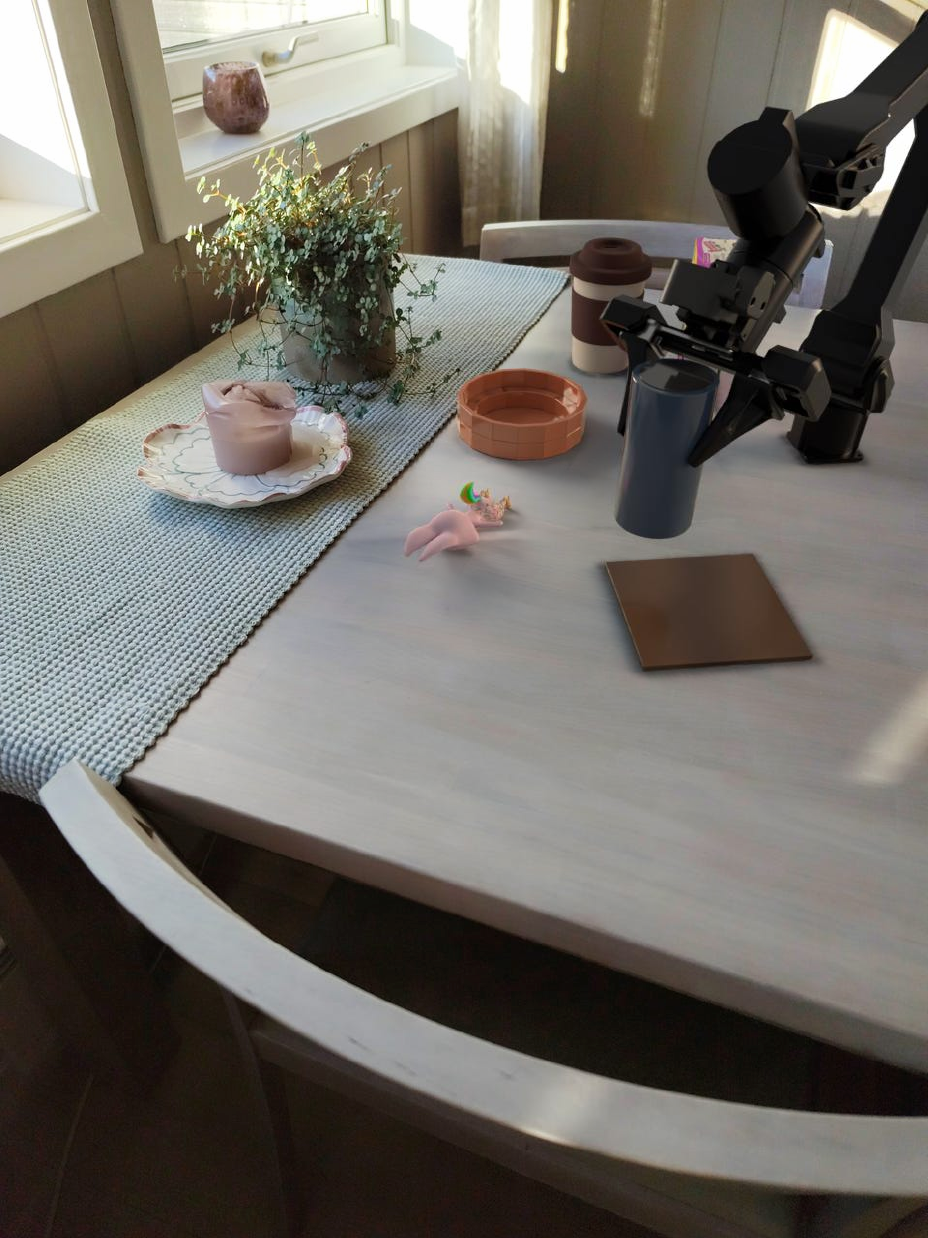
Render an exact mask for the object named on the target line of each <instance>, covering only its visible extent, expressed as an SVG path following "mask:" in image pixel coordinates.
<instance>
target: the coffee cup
mask: <svg viewBox="0 0 928 1238" xmlns="http://www.w3.org/2000/svg"><path fill="white" fill-rule="evenodd" d="M653 265H654V261H653V258H652V257H650V256H649V255H648V254H646V253H644V252H643V247H642V246H641V245H640V244H639V243H638V242H636V241H634V240H632V239H628V238H622V237H615V236H614V237H613V236H606V237H605V236H604V237H597V238H592V239H589V240H587V241H586V242H585V243H584V245H583V247H582V248H581V249H579V250H577V251H575V252H573V254H572V255H571V256H570V258H569V267H568V268H569V273H570V274H571V275H572V277H573V285H572V287H571V316H570V317H571V320H570V321H571V322H570V323H571V325H570V332H571V335H572V354H571V355H572V357H571V358H572V359H571V360H572V363H573V366H575V367H576V368H578V369H580V370H582V371H585V372H588V373H593V374H600V375H603V374H605V375H606V374H616V373H619V372H621V371H624V370H625V369H627V368H628V353H626V352H625V351H623V350H622V349H620V348H619V346H618V345H617V344H616V342H615V341H614V340H613V338H612V337H611V336H610V334H609V333H608V332H607V330H606V329H605V327H604V326H603V325H602V323H601V322H600V321H599V318H600V316H601V315H602V313H603V311H604V310H605V308H606V306H607V304H608V303H609V302H610V301H611V300H612V299H613V298H615V297H617V296H619V295H622V294H624V295H627V296H630V297H633V298H636V299H639V300H642V301H644V298H645V291H646V290H645V284H646V281H647V280H648V279H650V278H651V276H652V273H653Z"/></svg>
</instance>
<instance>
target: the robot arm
mask: <svg viewBox="0 0 928 1238" xmlns="http://www.w3.org/2000/svg"><path fill="white" fill-rule="evenodd" d="M912 121H913V130H914V131H913V132H914V138H913V140H912V143H911V146H910V147H909V150H908V152H907V154H906V157H905V159H904V162H903V164H902V166H901V168H900V170H899V173H898V175H897V177H896V179H895V182H894V184H893V186H892V188H891V191H890V193H889V196H888V197H887V200H886V202H885V205H884V207H883V209H882V212H881V213H880V216H879V218H878V220H877V222H876V225H875V227H874V229H873V231H872V234H871V237H870V238H869V241H868V244H867V245H866V247H865V250H864V252H863V255H862V257H861V259H860V261H859V264H858V266H857V267H856V268H857V269H856V271H855V273H854V275H853V277H852V279H851V281H850V285H849V287H848V289H847V291H846V293H845V295H844V297H843V298H841V299H840V300H839V301H838V302H837V303H835V304H834V305H833V306H831V307H830V308H829V309H825V308H823V309H821V311H819V312H818V313H817V314H816V316H815V317H814V319H813V323H812V325H811V327H810V331H809V332H808V335H807V336H806V337H805V339H804V340H803V341H802V343H801V344H800V346H799V348H798V350H797V349H793V348H790V347H787V346H784V345H781V344H776V345H774V346H773V347H770V348H769V349H768V350H767V351H766V353H765V355H764V356H762V355H759V354H758V353H757V350H758V349H759V347H760V345H761V344H762V342H763V340H764V339H765V337H766V335H767V334H768V332H769V330H770V329H771V327H772V325H773V324H774V323H775V324H778V325H781V324H782V322H783V320H784V318H786V315H787V313H788V312H787V309H786V307H785V303H786V302H787V300H788V298H789V297H790V295H791V293H792V292H793V290H794V288H795V287H796V285H797V284H798V283H799V280H800V278H801V277H802V275H803V273H804V271H805V270H806V268H807V267H808V265H809V263H810V262H811V260H812V258H815V259H822V258H823V257H824V255H825V250H826V247H827V244H826V243H827V242H826V239H825V236H826V230H825V229H826V228H825V221H824V220H823V219H822V216H821V213H820V212H819V210H818V209H817V208H816V207H815V206H814V205H817V206H821V207H827V208H831V209H835V210H840V211H846V212H848V211H851V210H853V209H854V208H855V207H857V206H859V204H860V203H861V202H862V201H863V200H864V199H865V198H866V197H868V196H869V195H870V194H871V193H873V191H874V189H875V187H876V185H877V183H878V182H879V181H880V180H881V179H882V177H883V175H884V171H885V163H886V155H887V147H888V146H889V145H890V144H891V142H892V141H893V140H894V139H895V138H896V137H897V136H898V135H899V134H900V133H901V131H903V129H905V128H906V127H907V126H908V124H910V122H912ZM705 168H706V177H707V179H708V182H709V184H710V186H711V189H712V191H713V193H714V195H715V198H716V200H717V202H718V205H719V207H720V210H721V212H722V215H723V216H724V219H725V221H726V224H727V227H728V228H729V230H730V232H732V233H733V235H734V236H735V237H737V239H736V240H737V241H736V243H735V244H734V246H733V248H732V250H731V251H730V253H729V255H728V256H727V258H726V260H725V261H723V260H719V259H716V260H715V261H714V262H712V263H711V265H710V266H709V268H708V267H704V266H700V265H697V264H693V263H692V262H689V261H686V260H682V259H679V258H675V259H674V260H673V263H672V266H671V268H670V271H669V274H668V276H667V279H666V281H665V284H664V287H663V289H662V292H661V295H660V298H659V301H658V303H659V304H662V305H666V306H669V307H672V306H675V307H677V309H676V311H675V313H674V314H675V316H676V318H677V319H678V321H679V322H681V323H683V322H684V323H685V325H686V327H685V329H684V330H682V328H678V327H675V326H674V325H670V324H669V323H668V322H667V321H666V319H665V317H664V316H663V314H662V312H661V311H660V309H659V308H658V306H657V304H654V303H651V302H648V301H645V300H643V301H642V300H639V299H636V298H633V297H630V296H627V295H624V294H622V295H619V296H617V297H615V298H613V299H612V300H611V301H610V302H609V303H608V304H607V306H606V308H605V310H604V311H603V313H602V315H601V316H600V318H599V321H600V322H601V323H602V325H603V326H604V327H605V329H606V330H607V332H608V333H609V334H610V336H611V337H612V338H613V340H614V341H615V342H616V344H617V345H618V346H619V348H620V349H622V350H623V351H625V352H626V353H628V366H627V376H626V383H625V387H624V392H623V393H624V394H623V398H622V403H621V409H620V413H619V418H618V423H617V427H616V433H617V434H618V435H619V436H620V437H622V438H624V432H625V424H626V416H627V409H628V401H629V394H630V386H631V378H632V372H633V370H634V368H635V367H636V366H638V365H639V364H641V363H643V362H646V361H649V360H654V359H662V358H666V357H667V355H668V353H671V354H673V355H676V356H678V355H679V356H682V357H685V358H687V359H690V360H693V361H696V362H699V363H701V364H704V365H707V366H710V367H713V368H715V369H718V370H721V372H723V373H726V374H730V375H733V377H732V380H731V384H730V387H729V390H728V393H727V396H726V399H725V400H724V402H723V404H722V405H721V407H720V408H719V410H718V411H717V412H716V414H715V416H713V420H712V422H711V423H710V425H709V426H708V428H707V429H706V431H705V432H704V434H703V435H702V437H701V439H700V440H699V442H698V443H697V445H696V447H695V449H694V451H693V453H692V455H691V457H690V459H689V461H688V463H689V465H690V466H691V467H693V468H697V467H698V466H700V465H701V464H702V463H706V462H707V461H708V460H709V459H711V458H712V457H713V456H715V455H716V454H718V453H720V451H722V450H723V449H724V448H726V447H727V446H729V445H731V444H732V443H733V442H734V441H736V440H738V439H739V438H741V437H742V436H744V435H745V434H747V433H749V432H751V431H753V430H754V429H757V427H759V426H761V425H763V424H764V423H766V422H769V420H775V421H781V422H782V421H783V420H784V418H785V416H786V413H787V414H790V415H793V416H794V417H793V421H792V425H791V428H790V430H789V431H786V433H785V438H786V439H787V440H788V441H789V443H790V444H791V445H792V447H793V448H794V449H795V450H796V452H797V453H798V454H799V456H800V457H801V458H802V459H803V461H804V462H805V463H807V464H827V463H828V464H830V463H847V462H849V463H850V462H862V461H864V458H865V454H863V452H861V450H860V449H859V447H860V444H861V441H862V439H863V435H864V432H865V429H866V425H867V423H868V420H869V417H870V415H871V414H882V413H884V412H885V409H886V407H887V403H888V401H889V399H890V398H891V396H892V391H893V390H894V387H895V384H896V383H895V378H894V373H893V369H892V365H891V364H892V363H891V360H890V358H891V356H892V353H893V350H894V348H895V345H896V336H895V327H894V321H893V320H894V319H893V311H894V308H895V306H896V304H897V302H898V299H899V297H900V295H901V294H902V291H903V289H904V287H905V284H906V282H907V280H908V279H909V278H908V277H909V276H910V274H911V271H912V269H913V267H914V265H915V262H916V260H917V258H918V256H919V254H920V252H921V250H922V247H923V245H924V243H925V241H926V238H927V237H928V8H927V9H925V10H924V11H923V12H922V14H921V15H920V16H919V18H918V20H917V22H916V23H915V26H914V29H913V30H912V31H911V32H910V33H909V34H908V35H907V36H906V37H905V39H903V40H902V41H901V42H900V43H899V44H898V45H897V46H896V47H895V48H894V49H893V50H892V51H891V52H890V53H889V54H888V55H887V56H886V57H885V58H884V59H883V60H882V61H881V62H880V63H879V64H878V65H877V66H876V67H875V68H874V69H873V70H872V71H871V72H870V73H868V75H867V76H866V77H865V78H864V79H863V80H862V81H861V82H860V83H859V84H858V85H857V86H856V87H855V88H854V89H853V90H852V91H851V92H849V93H848V94H846V95H844V96H843V97H839V98H835V99H831V100H828V101H823V102H820V103H817V104H815V105H814V106H812V107H810V108H809V109H808V110H805V112H803V113H801V114H800V115H799V116H797V117H796V118H795V116H794V112H793V109H788V108H782V107H776V106H770V105H767V106H765V107H764V109H763V110H762V112H761V114H760V116H759V117H758V119H755V120H752V121H748V122H745V123H743V124H741V125H739V126H737V127H735V128H733V129H732V130H731V131H729V132H728V133H727V134H726V135H724V137H723V138H722V139H721V140H718V141H716V143H714V146H713V147H712V149H711V151H710V152H709V156H708V158H707V162H706V167H705ZM693 346H694V347H695V348H697V349H695V348H693ZM698 349H700V350H698Z"/></svg>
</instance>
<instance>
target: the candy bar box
mask: <svg viewBox="0 0 928 1238" xmlns="http://www.w3.org/2000/svg"><path fill="white" fill-rule="evenodd" d="M736 241H737V239H733V238H732V239H730V238H720V237H711V238H710V237H706V236H703V237H695V242H694V249H693V254H692V261H691V263H693V264H697V265H700V266H704V267H708V268H709V266H710V265H711V263H712V262H714V261H715V260H716V259H719V260H723V261H725V260H726V258H727V256H728V255H729V253H730V251H731V250H732V248H733V246H734V244H735V243H736ZM685 327H686V325H685V323H684V322H682V324H681V329H682V330H684V329H685ZM693 348H695V347H694V346H693ZM695 349H697V348H695ZM698 350H700V349H698ZM676 359H684V360H690V359H687V358H685V357H682V356H679V355H677V357H676ZM690 361H693V360H690ZM694 362H696V361H694ZM698 363H699V362H698ZM700 364H701V363H700ZM703 365H704V364H703ZM705 366H707V365H705ZM707 367H709V368H711V369H712V370H714V371H715V372H716V373H717V374H718V376H719V378H720V377H721V372H722V371H721V370H718V369H715V368H713V367H710V366H707ZM720 379H721V378H720Z"/></svg>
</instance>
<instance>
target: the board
mask: <svg viewBox="0 0 928 1238" xmlns="http://www.w3.org/2000/svg"><path fill="white" fill-rule="evenodd" d="M604 568H605V571H606V574H607V577H608V580H609V582H610V585H611V587H612V588H611V589H612V590H613V594H614V596H615V599H616V601H617V604H618V607H619V610H620V612H621V615H622V617H623V621H624V624H625V626H626V628H627V631H628V634H629V637H630V640H631V643H632V645H633V648H634V651H635V653H636V656H637V658H638V661H639V664H640V667H641V670H642V671H643V672H645V671H646V672H647V671H663V670H676V669H678V670H679V669H689V668H691V669H692V668H707V667H721V666H722V667H723V666H735V665H738V666H739V665H752V664H764V663H765V664H766V663H781V662H795V661H810V660H813V657H814V654H813V653H812V651H811V649H810V647H809V646H808V644H807V642H806V641H805V639H804V637H803V635H802V634H801V632H800V630H799V629H798V627H797V626H796V623H795V622H794V620H793V619H792V616H790V614H789V612H788V610H787V609H786V607H785V605H784V604H783V602H782V600H781V598H780V597H779V595H778V594H777V592H776V590H775V589H774V587H773V584H772V583H771V582H770V580H769V578H768V576H767V574H766V573H765V571H764V569H763V568H762V567H761V565H760V563H759V561H758V560H757V558H756V556H755V555H754V553H741V554H740V553H737V554H722V555H721V554H719V555H704V556H687V557H672V558H671V557H670V558H669V557H668V558H653V559H651V558H650V559H637V560H636V559H635V560H618V561H605V562H604Z"/></svg>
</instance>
